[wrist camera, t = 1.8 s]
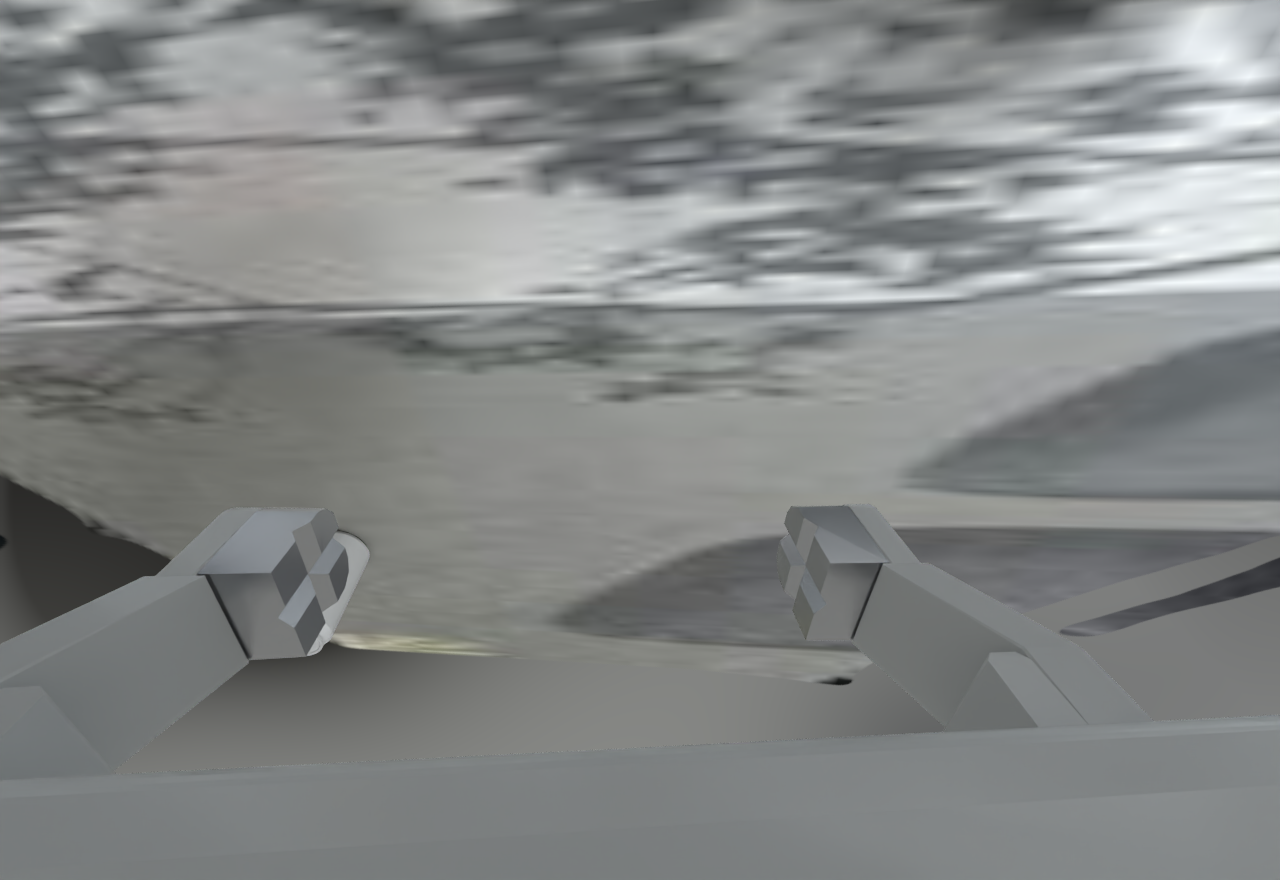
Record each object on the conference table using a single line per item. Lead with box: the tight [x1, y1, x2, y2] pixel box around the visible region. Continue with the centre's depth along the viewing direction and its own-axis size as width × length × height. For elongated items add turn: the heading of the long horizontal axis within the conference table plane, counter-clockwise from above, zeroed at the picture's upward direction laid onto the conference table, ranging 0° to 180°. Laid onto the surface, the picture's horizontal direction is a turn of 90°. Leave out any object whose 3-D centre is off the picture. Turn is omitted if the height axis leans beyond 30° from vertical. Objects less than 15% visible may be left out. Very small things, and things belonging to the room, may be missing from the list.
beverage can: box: [307, 531, 370, 656], centre depth 53 cm, size 6×6×12 cm
